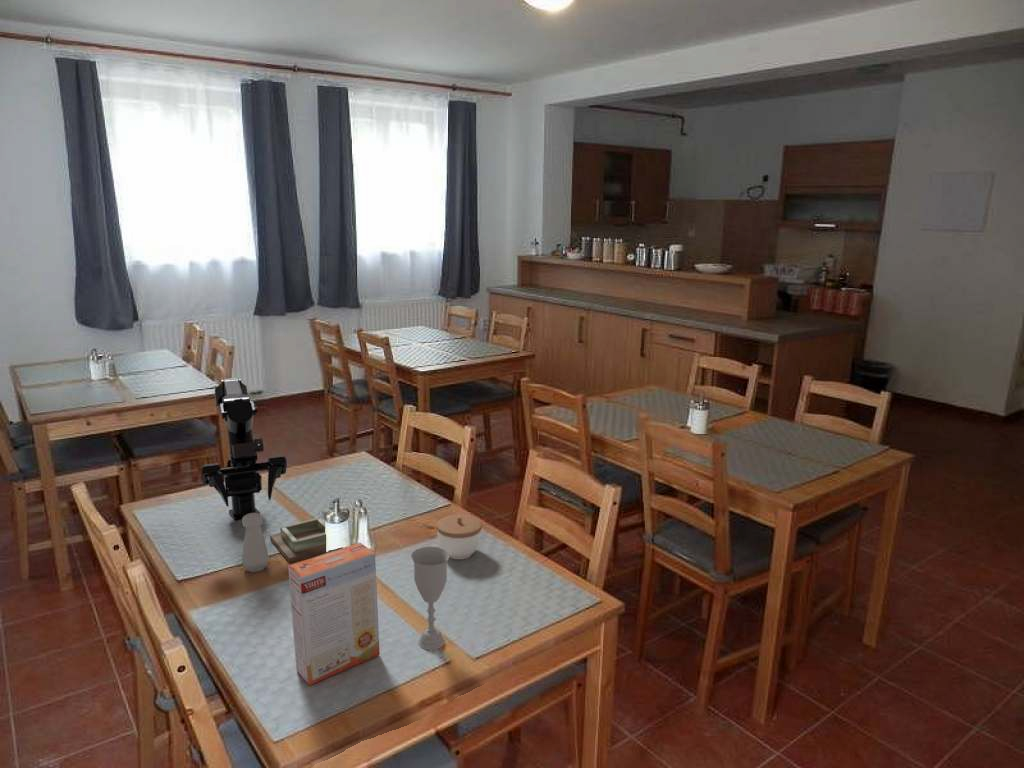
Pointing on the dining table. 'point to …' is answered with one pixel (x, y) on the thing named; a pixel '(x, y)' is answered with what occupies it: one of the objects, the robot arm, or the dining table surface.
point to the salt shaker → (254, 544)
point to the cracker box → (334, 611)
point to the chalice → (430, 588)
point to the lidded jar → (459, 535)
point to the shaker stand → (301, 539)
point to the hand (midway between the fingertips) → (248, 502)
